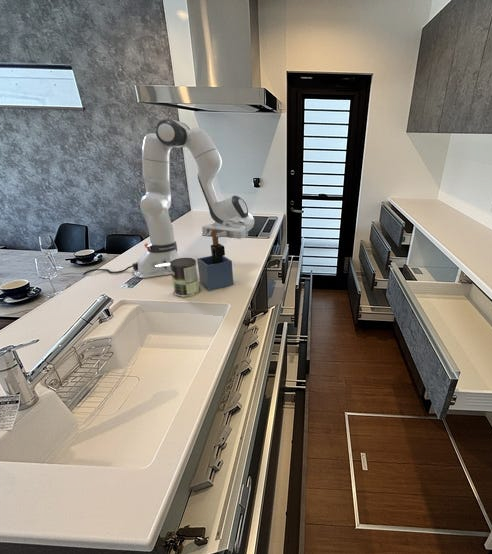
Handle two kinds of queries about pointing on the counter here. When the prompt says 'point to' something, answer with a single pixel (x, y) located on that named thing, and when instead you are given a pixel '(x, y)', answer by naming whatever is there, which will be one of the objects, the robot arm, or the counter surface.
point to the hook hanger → (216, 248)
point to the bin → (215, 273)
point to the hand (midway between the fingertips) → (213, 235)
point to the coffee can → (184, 276)
